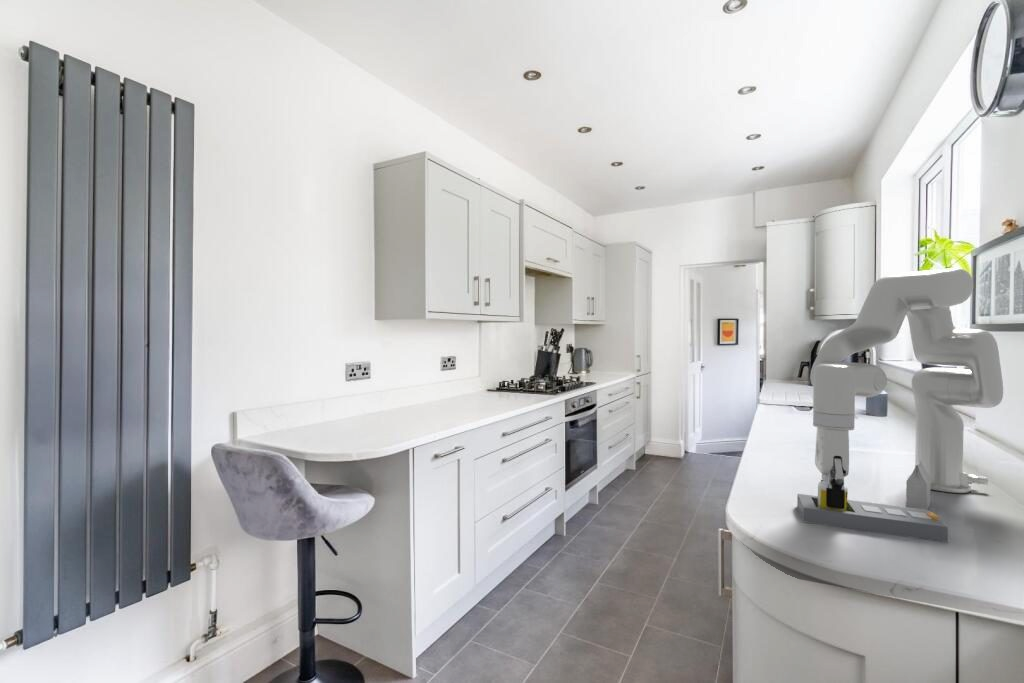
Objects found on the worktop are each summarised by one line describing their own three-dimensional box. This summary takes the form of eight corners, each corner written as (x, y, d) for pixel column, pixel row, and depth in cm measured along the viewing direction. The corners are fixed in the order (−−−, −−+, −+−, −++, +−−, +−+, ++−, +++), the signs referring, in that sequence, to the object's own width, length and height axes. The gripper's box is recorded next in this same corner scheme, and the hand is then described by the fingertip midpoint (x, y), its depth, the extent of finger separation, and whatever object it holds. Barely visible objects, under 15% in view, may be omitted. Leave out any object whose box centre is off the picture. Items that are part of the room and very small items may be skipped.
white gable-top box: (930, 503, 113) (931, 461, 113) (926, 510, 109) (927, 467, 109) (910, 499, 116) (911, 458, 116) (906, 506, 111) (906, 463, 111)
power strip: (927, 523, 101) (928, 506, 101) (947, 542, 92) (948, 523, 91) (797, 506, 111) (797, 491, 111) (803, 521, 101) (803, 504, 101)
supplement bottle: (852, 523, 100) (852, 478, 100) (823, 521, 101) (824, 476, 101) (839, 514, 106) (840, 470, 106) (813, 512, 107) (813, 469, 107)
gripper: (807, 413, 113) (806, 489, 113) (820, 425, 97) (819, 513, 97) (845, 416, 110) (844, 493, 110) (864, 429, 94) (863, 519, 94)
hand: (832, 502), depth 104 cm, fingers closed on supplement bottle, 5 cm apart
